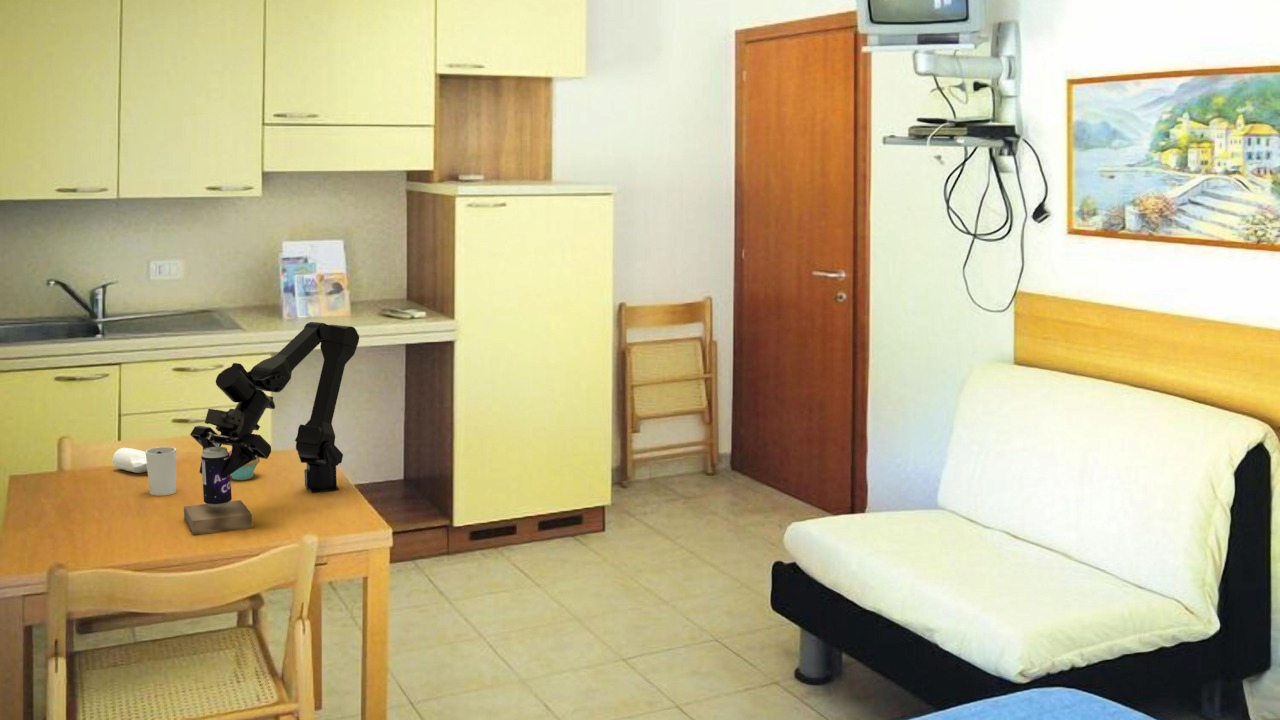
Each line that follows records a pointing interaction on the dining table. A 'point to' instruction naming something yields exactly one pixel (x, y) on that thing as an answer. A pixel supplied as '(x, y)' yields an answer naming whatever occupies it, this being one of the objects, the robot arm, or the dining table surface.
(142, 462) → the roll
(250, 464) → the cupcake
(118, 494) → the dining table surface
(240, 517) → the walnut base
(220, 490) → the beverage can
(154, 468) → the grey cylinder
